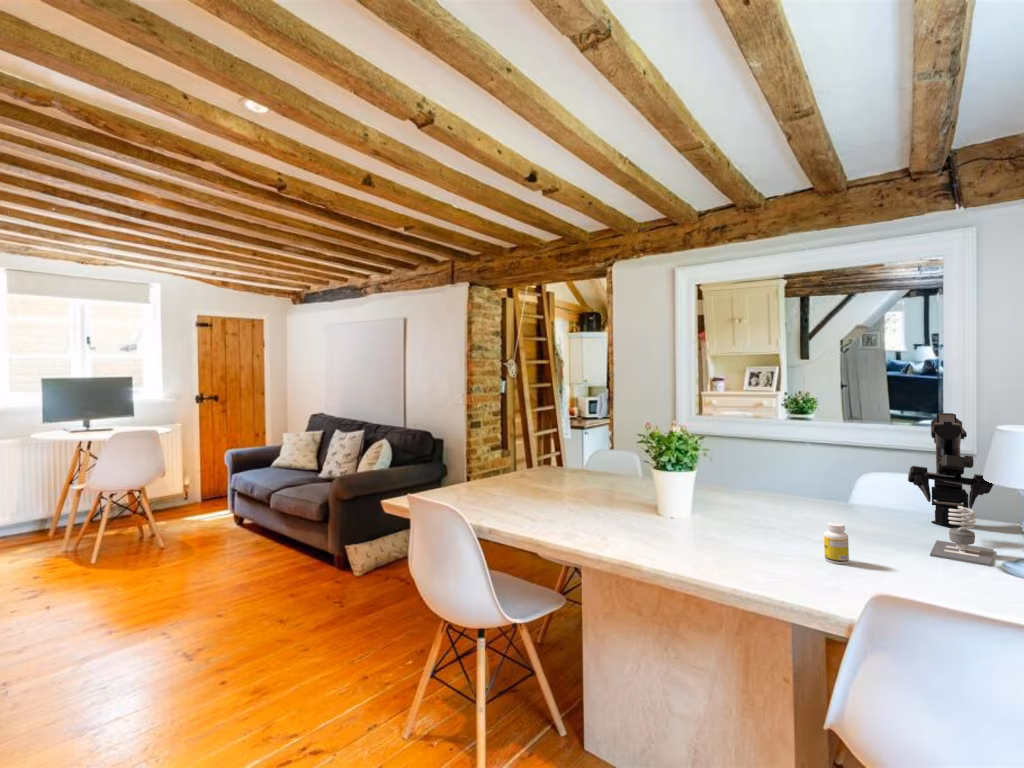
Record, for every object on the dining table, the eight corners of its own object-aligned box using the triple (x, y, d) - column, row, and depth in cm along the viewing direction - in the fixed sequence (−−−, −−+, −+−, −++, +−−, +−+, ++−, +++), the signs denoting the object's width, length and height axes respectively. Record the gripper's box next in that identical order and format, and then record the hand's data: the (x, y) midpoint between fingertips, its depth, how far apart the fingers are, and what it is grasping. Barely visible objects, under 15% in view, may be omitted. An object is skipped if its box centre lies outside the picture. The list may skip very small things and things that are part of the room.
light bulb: (972, 555, 136) (972, 509, 136) (945, 550, 141) (945, 506, 141) (978, 551, 140) (977, 506, 140) (951, 546, 144) (951, 503, 144)
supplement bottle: (826, 556, 139) (825, 520, 139) (850, 560, 136) (849, 523, 136) (822, 562, 135) (822, 524, 135) (847, 566, 132) (846, 527, 132)
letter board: (936, 542, 150) (936, 539, 150) (993, 551, 142) (993, 548, 142) (930, 555, 138) (930, 553, 138) (991, 566, 130) (991, 563, 130)
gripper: (913, 439, 156) (913, 484, 148) (996, 449, 146) (1001, 497, 138) (908, 459, 163) (907, 502, 155) (986, 469, 153) (990, 516, 145)
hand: (949, 504), depth 148 cm, fingers open, 9 cm apart
